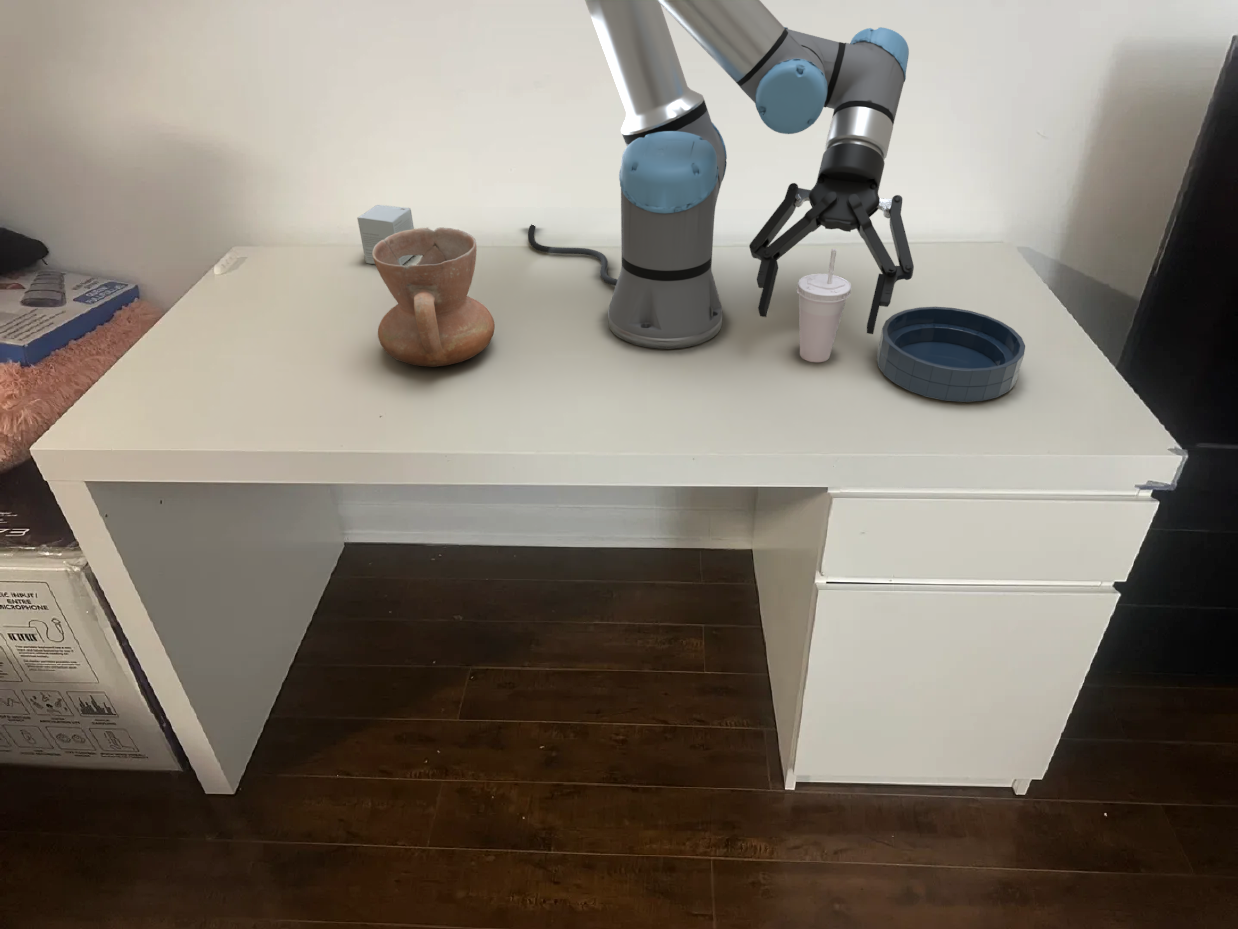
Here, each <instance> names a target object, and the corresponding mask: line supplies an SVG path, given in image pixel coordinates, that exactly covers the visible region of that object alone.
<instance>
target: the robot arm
mask: <svg viewBox="0 0 1238 929" xmlns="http://www.w3.org/2000/svg"><path fill="white" fill-rule="evenodd" d="M584 1H585V4H586V7H587V10H588V13H589V15H590V18H591V21H592V24H593V26H594V29H595V32H596V34H597V37H598V39H599V43H600V45H601V48H602V51H603V54H604V56H605V58H606V62H607V64H608V67H609V69H610V72H611V75H612V77H613V81H614V83H615V86H616V88H617V91H618V94H619V97H620V99H621V103H622V104H623V107H624V110H625V119H624V121H623V123H622V126H621V128H620V133H621V135H622V138H623V140H624V143H625V146H626V147H625V149H624V150H623V152H622V155H621V163H620V168H619V174H618V181H619V187H620V233H621V235H620V236H621V237H620V238H621V240H620V241H621V242H620V243H621V244H620V246H621V268H620V272H619V274H618V277H617V278H615V277H611V276H610V275H608V266H609V261H608V258H607V257H606V255H605V254H604V253H602V252H600V251H598V250H595V249H591V248H585V247H565V246H563V247H562V246H561V247H559V246H547V245H542V244H539V243H538V242H537V241H536V238H535V232H536V228H537V226H536V225H535V224H534V225H535V226H534V225H532V224H530V225H531V226H530V225H529V228H528V233H527V239H528V240H527V241H528V243H529V245H530V247H532V249H534V250H536V251H538V252H542V253H546V254H554V255H555V254H556V255H557V254H558V255H583V256H590V257H594V258H596V259H598V260H599V261H600V263H601V265H600V270H599V276H600V277H601V279H602V282H605V284H609V285H611V286H614V290H613V294H612V296H611V299H610V302H609V305H608V312H607V313H608V315H607V316H608V328H609V329H610V331H611V332H612V333H613V334H614V335H615V336H616V337H618V338H619V339H621V340H623V341H624V342H626V343H630V344H632V345H635V346H639V347H644V348H650V349H657V350H658V349H659V350H664V349H665V350H674V349H683V348H684V349H685V348H689V347H693V346H697V345H700V344H703V343H705V342H707V341H709V340H711V339H713V338H714V337H715V336H716V335H718V333H719V332H720V331H721V329H722V325H723V307H722V302H721V298H720V295H719V293H718V292H719V291H718V289H717V285H716V281H715V278H714V274H713V271H712V263H713V262H712V261H713V246H714V244H713V243H714V229H715V214H716V206H717V202H718V197H719V193H720V189H721V186H722V184H723V181H724V178H725V174H726V171H727V164H728V163H727V159H728V156H727V154H728V153H727V148H726V144H725V141H724V138H723V135H722V134H721V132H720V130H719V129H718V127H717V126H716V125H715V124H714V123H713V122H712V118H711V116H710V113H709V110H708V107H707V103H706V100H705V97H704V95H703V94H701V93H699V92H697V91H695V90H693V89H691V88H690V87H689V86H688V84H687V81H686V78H685V75H684V72H683V68H682V65H681V62H680V60H679V56H678V53H677V50H676V48H675V44H674V41H673V38H672V35H671V31H670V29H669V26H668V23H667V20H666V17H665V14H664V11H663V8H664V9H665V11H666V12H667V13H668V14H669V15H670V16H671V17H672V18H673V19H674V20H675V21H676V22H677V23H678V24H679V25H680V26H681V27H682V29H684V30H685V31H686V32H687V33H688V35H689V36H690V37H692V39H693V40H695V41H696V43H697V44H698V45H699V46H700V47H701V48H702V49H703V50H704V51H705V52H706V54H708V55H709V56H710V57H711V58H712V60H714V61H715V62H716V64H718V66H720V68H722V70H723V71H724V72H725V73H726V74H728V76H729V77H730V78H731V79H732V80H733V81H734V82H735V84H737V86H739V88H740V89H741V91H742V92H744V94H746V95H747V96H748V98H749V99H750V100H751V101H752V102H753V103H754V104H755V108H756V111H757V113H758V115H759V117H760V120H761V121H762V123H763V124H764V125H766V127H767V128H769V129H770V130H772V131H773V132H776V133H778V134H783V135H795V134H798V133H802V132H804V131H805V130H807V129H809V128H810V127H812V126H813V125H814V124H815V122H817V120H818V119H819V117H820V116H821V114H822V112H823V109H824V108H828V109H831V110H832V109H833V113H832V118H831V121H830V124H829V128H828V132H827V136H826V140H825V145H824V150H825V151H824V152H823V154H822V156H821V162H820V165H819V170H818V174H817V178H816V182H815V184H814V186H813V187H812V188H811V189H807V188H802V187H799V185H798V184H797V183H796V182H791V183H790V184H789V185H788V186H787V190H786V193H785V196H784V199H783V200H782V202H780V204H779V205H778V207H777V208H776V209H775V211H774V212H773V213H772V214H771V216H770V217H769V219H768V220H767V221H766V222H765V224H763V226H762V228H761V229H760V230H759V231H758V233H757V234H756V235H755V237H753V239H752V241H750V243H749V250H750V254H751V257H752V258H753V259H757V260H758V261H760V264H759V267H758V272H757V276H756V283H757V288H759V289H760V288H761V289H762V290H761V294H760V298H759V303H758V307H757V310H758V313H759V317H764V318H767V316H768V311H769V307H770V305H771V304H770V303H771V301H772V300H771V299H772V295H773V292H774V287H775V283H776V279H777V276H778V271H779V263H778V260H779V259H780V258H781V257H782V256H784V255H785V254H787V253H788V252H789V251H790V250H791V249H792V248H794V247H795V246H796V245H797V244H798V243H800V242H801V241H802V240H803V239H804V238H805V237H807V236H808V235H809V234H811V233H813V232H815V231H816V230H817V229H819V228H820V227H821V226H822V227H824V229H825V230H841V231H843V232H847V233H848V232H849V233H851V231H854V230H857V233H858V234H859V236H860V238H861V239H863V241H864V243H865V245H866V247H867V249H868V250H869V252H870V254H871V257H873V260H874V262H875V263H876V265H877V266H878V269H879V270H880V272H881V273H878V275H877V280H876V284H875V289H874V293H873V297H872V301H871V306H870V311H869V315H868V318H867V323H866V334H868V335H869V334H870V335H874V331H875V327H876V323H877V318H878V314H879V310H880V307H885V308H888V307H889V306H890V305H891V300H892V297H893V292H894V288H895V284H896V283H897V282H898V281H901V280H906V281H909V280H911V279H913V276H914V269H915V266H914V265H915V264H914V262H913V258H912V254H911V250H910V249H911V248H910V246H909V242H908V237H907V234H906V229H905V225H904V221H903V217H902V209H903V208H902V206H903V197H902V196H901V195H900V194H895V195H894V196H893V197H892V198H883V197H880V195H879V190H880V187H881V186H880V185H881V181H882V177H883V172H884V169H885V160H886V158H887V156H888V151H889V147H890V142H891V139H892V135H893V130H894V124H895V120H896V117H897V112H898V108H899V105H900V99H901V96H902V92H903V88H904V84H905V82H906V79H907V67H908V63H909V56H910V49H909V44H908V42H907V40H906V39H905V38H904V37H903V35H902V34H900V33H899V32H897V31H896V30H894V29H891V28H887V27H881V26H880V27H878V28H876V29H874V28H871V27H868V28H865V29H862V30H860V31H858V32H856V34H854V36H853V37H852V38H851V40H850V43H849V42H842V41H835V40H832V39H828V38H824V37H821V36H816V35H813V34H809V33H805V32H801V31H797V30H793V29H789V27H787V26H784V25H783V24H782V23H781V22H780V21H779V20H778V19H777V17H776V16H775V15H774V14H773V13H772V12H771V11H770V10H769V9H768V8H767V6H766V5H765V4H764V3H763V2H762V0H584ZM662 7H663V8H662ZM805 202H809V204H810V206H811V208H810V209H809V210H807V211H806V212H805V214H804V215H803V217H802V218H800V219H799V220H798V221H796V222H795V223H794V224H793V225H792V226H790V227H789V228H788V229H787V230H786V231H784V232H783V233H782V234H781V235H780V236H779V237H777V235H778V234H779V233H780V231H781V230H782V229H783V228H784V226H785V225H786V223H787V222H788V221H789V220H790V218H791V217H792V215H793V214H794V213H795V211H796V209H797V208H800V207H801V206H803V204H804V203H805ZM878 210H880V211H881V212H882V214H883V217H884V218H886V219H889V229H890V232H891V237H892V241H893V245H894V250H895V253H896V257H897V262H898V265H896V264H895V263H894V261H893V259H892V257H891V255H890V254H889V252H888V250H887V248H886V246H885V245H884V243H883V241H882V239H881V238H880V236H879V234H878V232H877V231H876V229H875V227H874V225H873V222H872V220H871V217H872V216H873V215H875V213H876V212H877V211H878ZM776 237H777V238H776ZM775 238H776V239H775ZM774 239H775V240H774Z"/></svg>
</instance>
